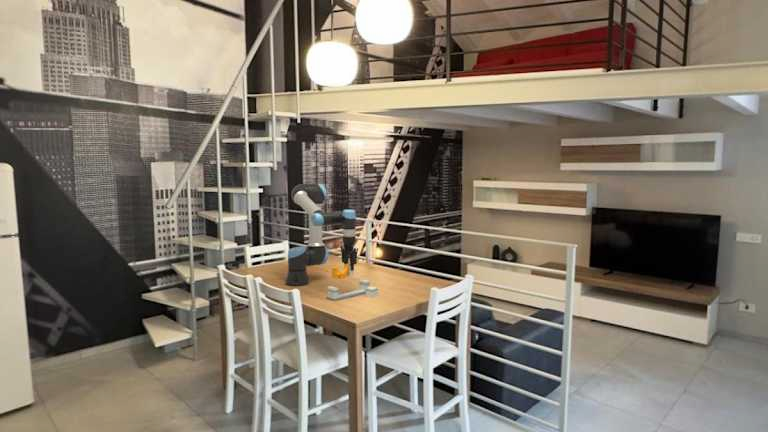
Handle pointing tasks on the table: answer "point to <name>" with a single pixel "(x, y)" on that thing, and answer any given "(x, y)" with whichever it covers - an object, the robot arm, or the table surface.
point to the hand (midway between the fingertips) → (349, 275)
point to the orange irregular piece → (340, 275)
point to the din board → (348, 294)
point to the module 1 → (332, 292)
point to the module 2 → (364, 284)
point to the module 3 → (372, 292)
